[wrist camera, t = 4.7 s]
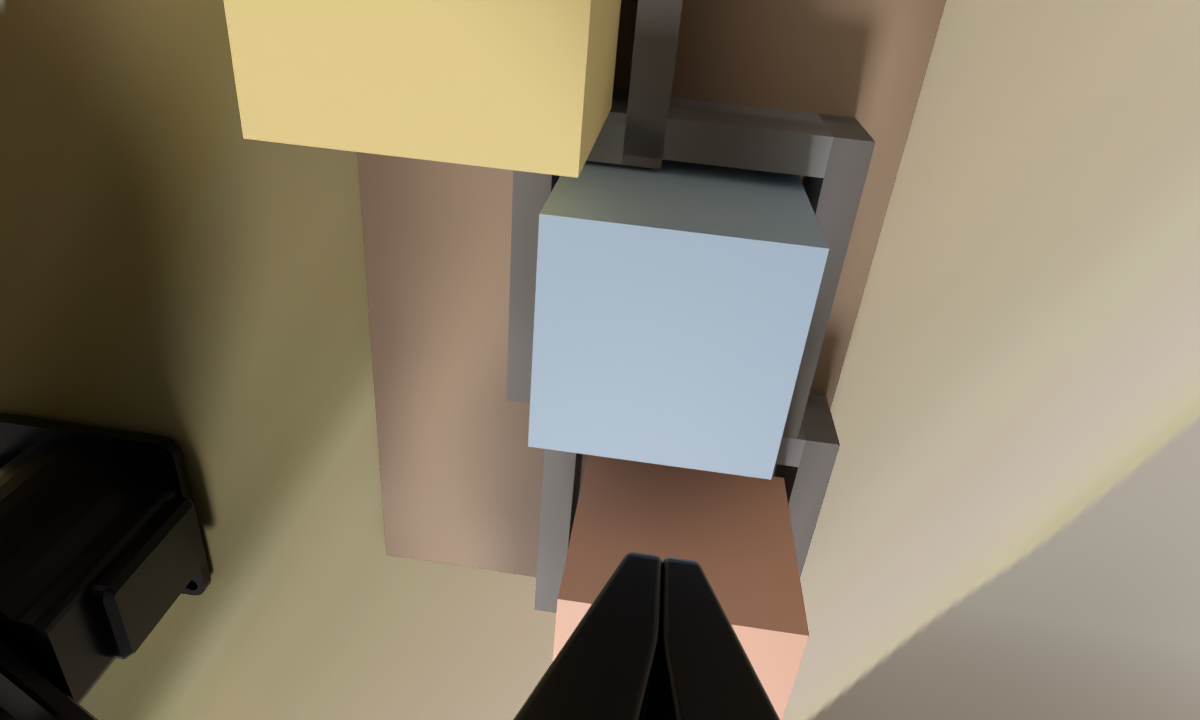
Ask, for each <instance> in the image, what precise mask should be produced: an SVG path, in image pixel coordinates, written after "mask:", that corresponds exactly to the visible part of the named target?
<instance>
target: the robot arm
mask: <svg viewBox="0 0 1200 720" xmlns="http://www.w3.org/2000/svg"><path fill="white" fill-rule="evenodd" d="M160 451H161V452H162V453H161V452H160ZM164 454H165V455H164ZM210 582H211V577H210V572H209V568H208V564H207V559H206V554H205V550H204V545H203V541H202V537H201V532H200V528H199V524H198V519H197V515H196V511H195V506H194V503H193V499H192V494H191V490H190V486H189V481H188V477H187V473H186V468H185V464H184V460H183V455H182V451H181V449H180V447H179V445H178V444H177V443H176V442H175V441H173V440H172V439H170V438H168V437H164V436H158V435H151V434H144V433H137V432H130V431H123V430H115V429H108V428H101V427H94V426H87V425H80V424H72V423H65V422H58V421H51V420H44V419H37V418H29V417H22V416H15V415H8V414H1V413H0V720H97V719H96V718H95V717H94V716H93V715H91V714H90V713H89V712H88V711H87V710H85V709H84V708H83V707H82V706H81V705H79V704H80V702H81V701H82V700H83V699H84V697H85V696H86V695H87V694H88V692H89V691H90V690H91V689H92V687H93V686H94V685H95V684H96V682H97V681H98V680H99V679H100V677H101V676H102V675H103V674H104V672H105V671H106V670H107V669H108V667H109V666H110V665H111V664H112V662H113V661H114V660H115V659H116V658H119V659H127V658H128V657H130V656H131V655H132V654H133V653H135V652H136V650H137V649H138V648H139V647H140V645H141V644H142V643H143V641H144V640H145V639H146V638H147V636H148V635H149V634H150V632H151V631H152V630H153V629H154V627H155V626H156V625H157V623H158V622H159V621H160V620H161V618H162V617H163V616H164V614H165V613H166V612H167V611H168V609H169V608H170V607H171V605H172V604H173V603H174V602H175V600H176V599H177V598H178V596H179V595H180V594H181V593H182V594H189V595H200V594H202V593H203V592H204V591H205V589H206V588H207V587H208V585H209V584H210ZM514 720H780V718H779V716H778V715H777V713H776V711H775V709H774V707H773V705H772V703H771V701H770V699H769V697H768V695H767V693H766V691H765V689H764V687H763V685H762V683H761V682H760V680H759V678H758V676H757V674H756V672H755V670H754V668H753V666H752V664H751V662H750V660H749V658H748V656H747V654H746V652H745V650H744V649H743V647H742V645H741V643H740V641H739V639H738V637H737V635H736V633H735V631H734V629H733V627H732V625H731V623H730V621H729V619H728V617H727V616H726V614H725V612H724V610H723V608H722V606H721V604H720V602H719V600H718V598H717V596H716V594H715V592H714V590H713V588H712V586H711V584H710V583H709V581H708V579H707V577H706V575H705V573H704V571H703V569H702V567H701V566H700V564H699V563H698V562H696V561H692V560H686V559H679V558H672V557H667V558H665V559H664V560H663V563H662V559H661V558H660V557H659V556H657V555H651V554H644V553H637V552H629V553H627V554H626V555H625V556H624V558H623V559H622V561H621V562H620V563H619V565H618V566H617V568H616V569H615V571H614V572H613V574H612V575H611V577H610V578H609V580H608V581H607V583H606V584H605V586H604V587H603V589H602V590H601V591H600V593H599V594H598V596H597V597H596V599H595V600H594V602H593V603H592V605H591V606H590V608H589V609H588V611H587V612H586V614H585V615H584V617H583V618H582V619H581V621H580V622H579V624H578V625H577V627H576V628H575V630H574V631H573V633H572V634H571V636H570V637H569V639H568V640H567V642H566V643H565V645H564V646H563V648H562V649H561V650H560V652H559V653H558V655H557V656H556V658H555V659H554V661H553V662H552V664H551V665H550V667H549V668H548V670H547V671H546V673H545V674H544V676H543V677H542V678H541V680H540V681H539V683H538V684H537V686H536V687H535V689H534V690H533V692H532V693H531V695H530V696H529V698H528V699H527V701H526V702H525V704H524V705H523V707H522V708H521V709H520V711H519V712H518V714H517V715H516V717H515V718H514Z"/></svg>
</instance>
